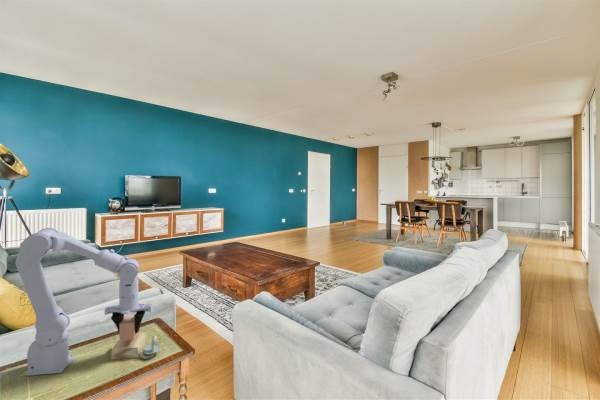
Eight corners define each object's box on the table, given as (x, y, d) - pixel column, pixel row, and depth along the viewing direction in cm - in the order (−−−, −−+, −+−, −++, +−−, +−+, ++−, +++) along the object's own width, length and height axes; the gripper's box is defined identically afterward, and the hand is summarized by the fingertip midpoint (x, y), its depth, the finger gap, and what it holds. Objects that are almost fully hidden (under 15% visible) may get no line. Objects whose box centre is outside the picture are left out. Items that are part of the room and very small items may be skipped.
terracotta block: (119, 340, 97) (119, 323, 96) (124, 333, 101) (124, 317, 101) (134, 339, 98) (133, 323, 97) (138, 332, 102) (138, 316, 102)
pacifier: (139, 362, 95) (159, 357, 97) (138, 344, 94) (158, 340, 97) (141, 350, 101) (160, 346, 104) (140, 333, 101) (159, 329, 103)
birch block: (111, 359, 95) (111, 349, 95) (121, 345, 103) (121, 336, 103) (137, 357, 97) (137, 347, 97) (145, 343, 105) (145, 334, 104)
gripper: (100, 300, 93) (100, 340, 94) (148, 298, 96) (148, 336, 97) (109, 291, 100) (110, 329, 101) (154, 290, 103) (154, 326, 104)
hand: (129, 332), depth 99 cm, fingers closed on terracotta block, 4 cm apart
